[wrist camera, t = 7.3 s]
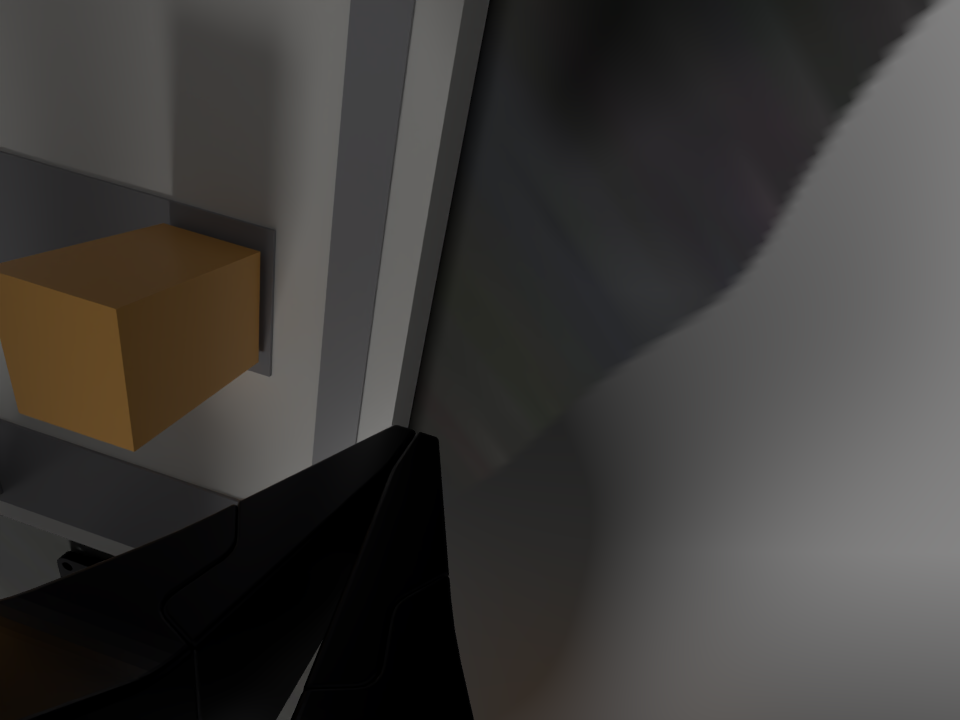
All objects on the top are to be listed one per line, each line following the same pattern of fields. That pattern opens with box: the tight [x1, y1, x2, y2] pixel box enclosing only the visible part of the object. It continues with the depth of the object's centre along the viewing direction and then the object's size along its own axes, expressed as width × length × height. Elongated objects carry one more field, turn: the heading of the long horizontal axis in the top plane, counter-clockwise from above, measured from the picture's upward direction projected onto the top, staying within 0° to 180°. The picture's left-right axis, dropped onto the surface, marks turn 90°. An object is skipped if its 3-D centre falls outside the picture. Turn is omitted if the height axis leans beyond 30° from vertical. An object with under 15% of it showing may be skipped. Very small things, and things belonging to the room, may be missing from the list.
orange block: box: [0, 223, 260, 452], centre depth 11 cm, size 3×2×4 cm
